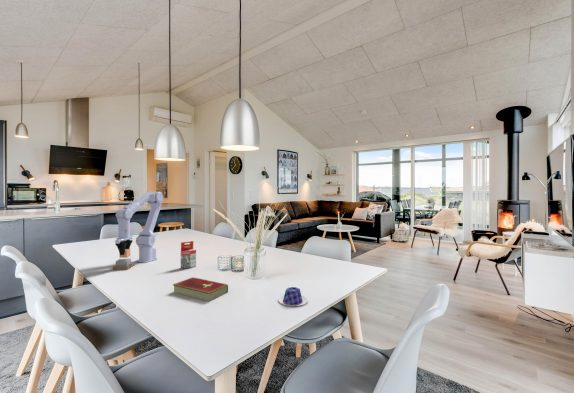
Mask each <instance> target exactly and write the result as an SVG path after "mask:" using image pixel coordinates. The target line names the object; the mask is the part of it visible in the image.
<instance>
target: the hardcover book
mask: <svg viewBox="0 0 574 393" xmlns="http://www.w3.org/2000/svg"><path fill="white" fill-rule="evenodd" d="M172 286H173V290H174V291H173V292H174V293H175V294H176V293H177V294H181V295H184V296H188V297H192V298H196V299H199V300H204V301H208V302H210V301H212V300H214V299H216V298H218V297H220V296H222V295H224V294H226V293H228V292H229V285H228V284H226V283H223V282H222V283H221V282H219V281H218V282H217V281H213V280H207V279H203V278H198V277H189V278H186V279H184V280H181V281H178V282H176V283H173V284H172Z"/></svg>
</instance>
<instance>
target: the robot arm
mask: <svg viewBox="0 0 574 393" xmlns="http://www.w3.org/2000/svg"><path fill="white" fill-rule="evenodd" d="M163 201H164V195H163V192H162V191H146V192H144V193H143V195H142V196H141V197H139V198H138V200H136V201H130V202H129V204H127V205H125V206H124V207H123V208H120V209H118V210H117V211H116V212H115V217H116V220H117V224H118V226H117V230H118V232H117V234H118V236H117V237H116V238H115V241H114V242H115V246H116V247H117V250H118V252H119V256H120V255H124V254H125V249H130V250H131V248H130V247H131V245H132V243H133V235H131V225H130V224H131V222H130V221H131V218H132V217H133V215H134V214H135V213H136V212H138V211H139V210H140V208H141V206H143V205H144V204H146V203H147V204H148V205H149V206H150V211H149V213H148V215H147V219H146V222H145V224H144V228H143V230H141V231H140V232H139V233H138V236H137V237H136V238H135V243H136V245H137V247H138V259H136V260H135V262H139V263H149V262H152V261H156V260H157V259H158V258H157V248H156V246H155V242H156V235H155V233H154V229H155V226H156V223H157V219H158V216H159V215H160V214H159V213H160V211H161V208H162V205H163V204H162V203H163Z"/></svg>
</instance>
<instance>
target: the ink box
mask: <svg viewBox="0 0 574 393" xmlns="http://www.w3.org/2000/svg"><path fill="white" fill-rule="evenodd" d="M195 267H197V250H196V249H195V248H194V241H193V240H191V241H183V242H180V268H181V269H183V270H185V269H188V268H195Z"/></svg>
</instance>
